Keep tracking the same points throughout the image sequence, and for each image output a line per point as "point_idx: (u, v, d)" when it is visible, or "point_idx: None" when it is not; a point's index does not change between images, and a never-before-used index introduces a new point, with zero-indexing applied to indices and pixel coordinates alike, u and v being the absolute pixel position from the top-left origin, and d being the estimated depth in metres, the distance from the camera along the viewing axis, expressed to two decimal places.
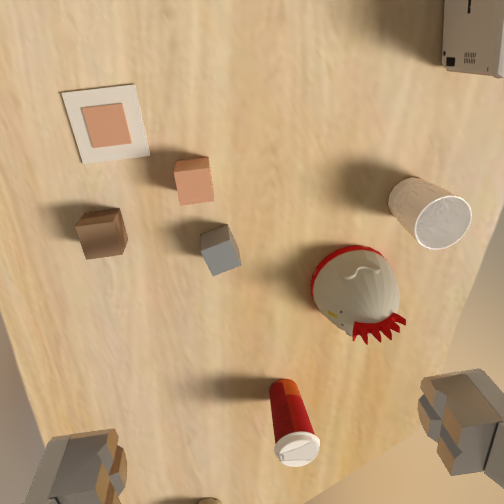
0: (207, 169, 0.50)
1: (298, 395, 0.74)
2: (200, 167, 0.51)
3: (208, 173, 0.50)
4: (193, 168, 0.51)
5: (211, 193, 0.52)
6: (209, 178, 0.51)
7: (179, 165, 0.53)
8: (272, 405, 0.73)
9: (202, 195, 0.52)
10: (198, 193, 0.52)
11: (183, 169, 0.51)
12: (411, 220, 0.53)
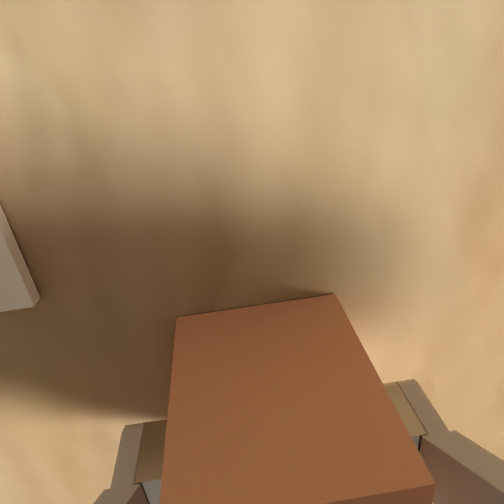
0: (421, 492, 0.06)
1: None
2: (355, 452, 0.07)
3: None
4: (306, 469, 0.07)
5: None
6: None
7: (196, 384, 0.09)
8: None
9: None
10: None
11: (228, 469, 0.07)
12: None
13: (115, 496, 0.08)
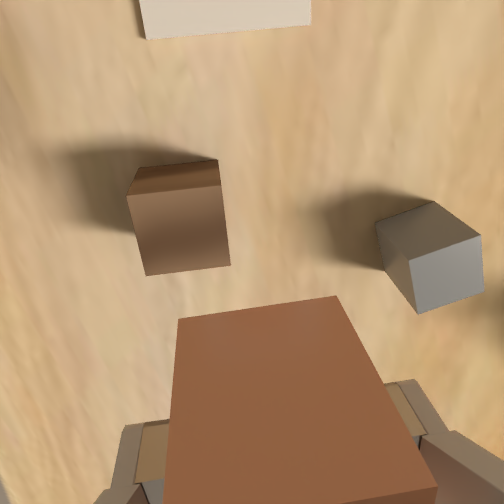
0: (423, 495, 0.06)
1: None
2: (357, 454, 0.07)
3: None
4: (308, 471, 0.07)
5: None
6: None
7: (198, 386, 0.09)
8: None
9: None
10: None
11: (230, 472, 0.07)
12: None
13: (115, 496, 0.08)
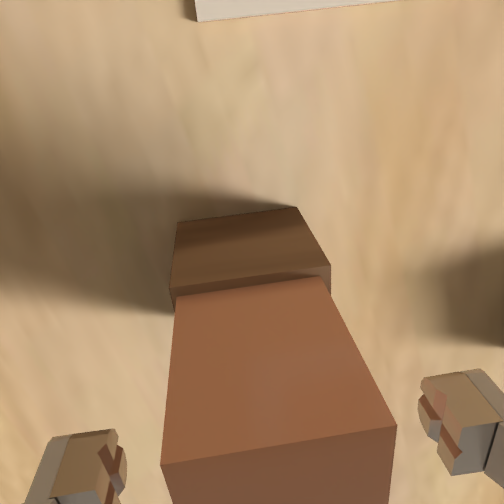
0: (384, 433, 0.08)
1: None
2: (330, 402, 0.08)
3: (383, 450, 0.08)
4: (287, 415, 0.08)
5: None
6: (384, 470, 0.08)
7: (194, 351, 0.10)
8: None
9: None
10: None
11: (221, 417, 0.08)
12: None
13: None
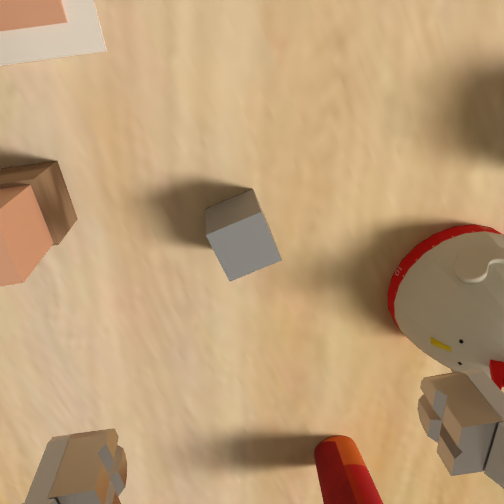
0: None
1: (362, 464, 0.47)
2: None
3: None
4: None
5: (13, 267, 0.24)
6: (0, 237, 0.23)
7: None
8: (322, 481, 0.47)
9: None
10: None
11: None
12: None
13: None
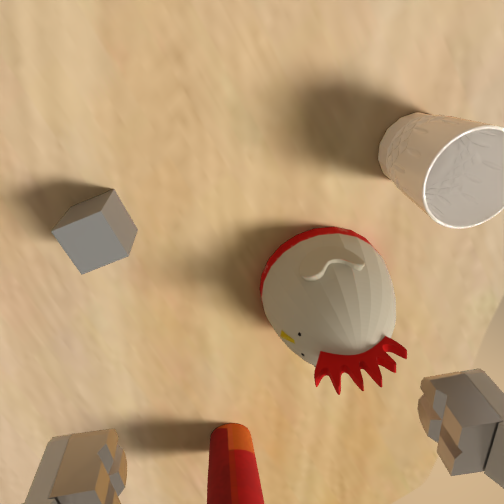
0: None
1: (248, 450, 0.50)
2: None
3: None
4: None
5: None
6: None
7: None
8: (209, 465, 0.50)
9: None
10: None
11: None
12: (416, 175, 0.30)
13: None
